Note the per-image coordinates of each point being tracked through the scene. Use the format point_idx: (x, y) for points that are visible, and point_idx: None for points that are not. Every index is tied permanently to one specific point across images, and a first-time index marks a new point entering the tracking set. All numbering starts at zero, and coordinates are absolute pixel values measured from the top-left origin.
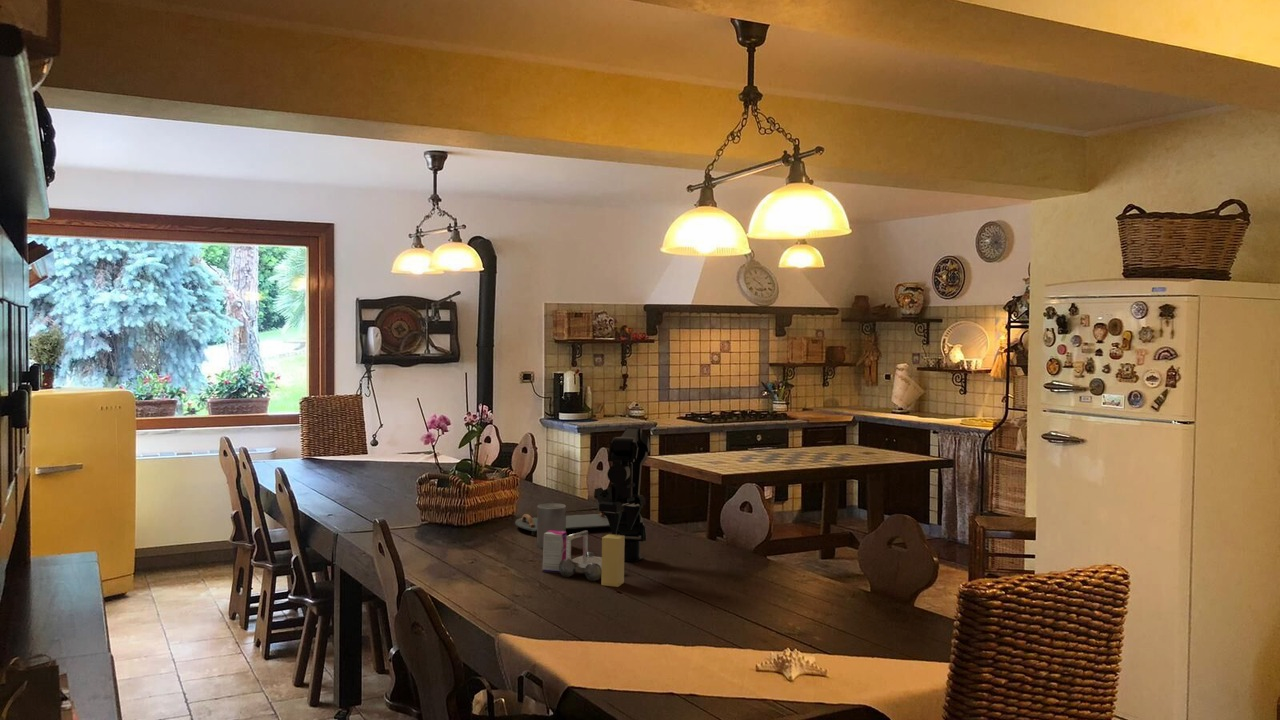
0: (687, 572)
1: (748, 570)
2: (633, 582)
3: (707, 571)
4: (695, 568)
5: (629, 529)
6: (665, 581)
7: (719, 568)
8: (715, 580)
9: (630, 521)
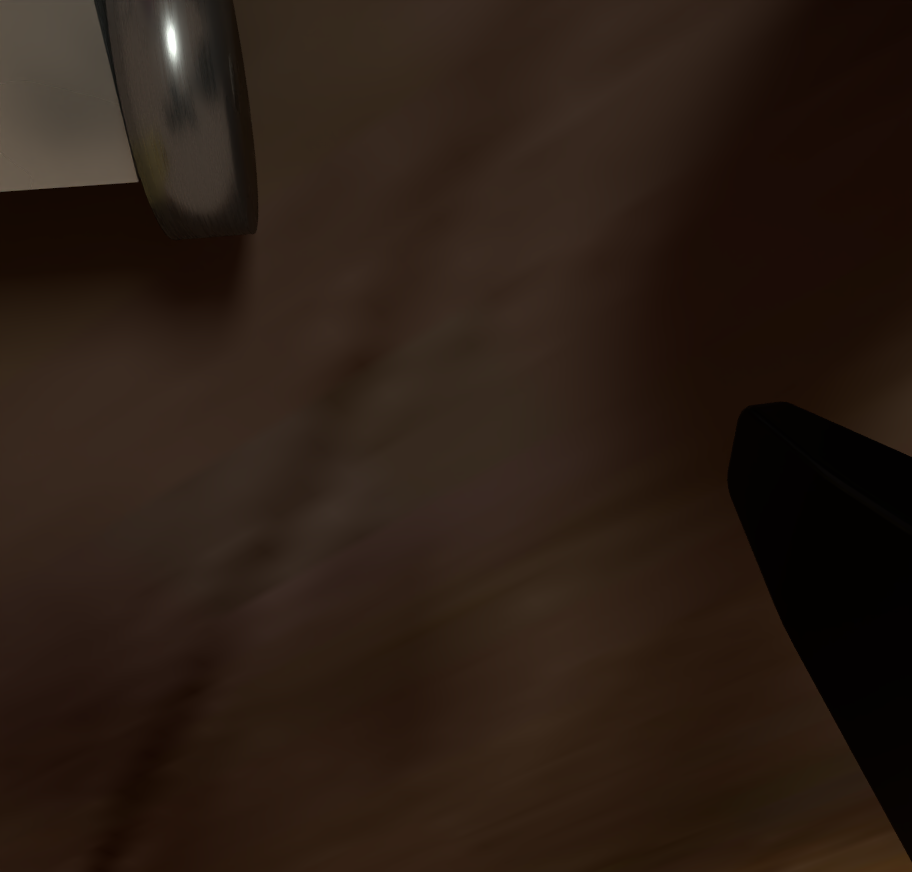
0: (678, 616)
1: None
2: (12, 511)
3: (776, 682)
4: None
5: (734, 458)
6: (284, 659)
7: None
8: (546, 815)
9: (881, 664)
